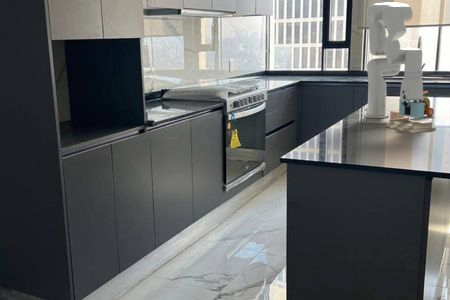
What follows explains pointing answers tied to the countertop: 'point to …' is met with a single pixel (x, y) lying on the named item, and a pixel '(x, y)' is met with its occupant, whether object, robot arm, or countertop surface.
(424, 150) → the countertop surface
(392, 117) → the peach brick
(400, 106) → the light blue block
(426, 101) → the toy helicopter
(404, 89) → the robot arm
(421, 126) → the jig
